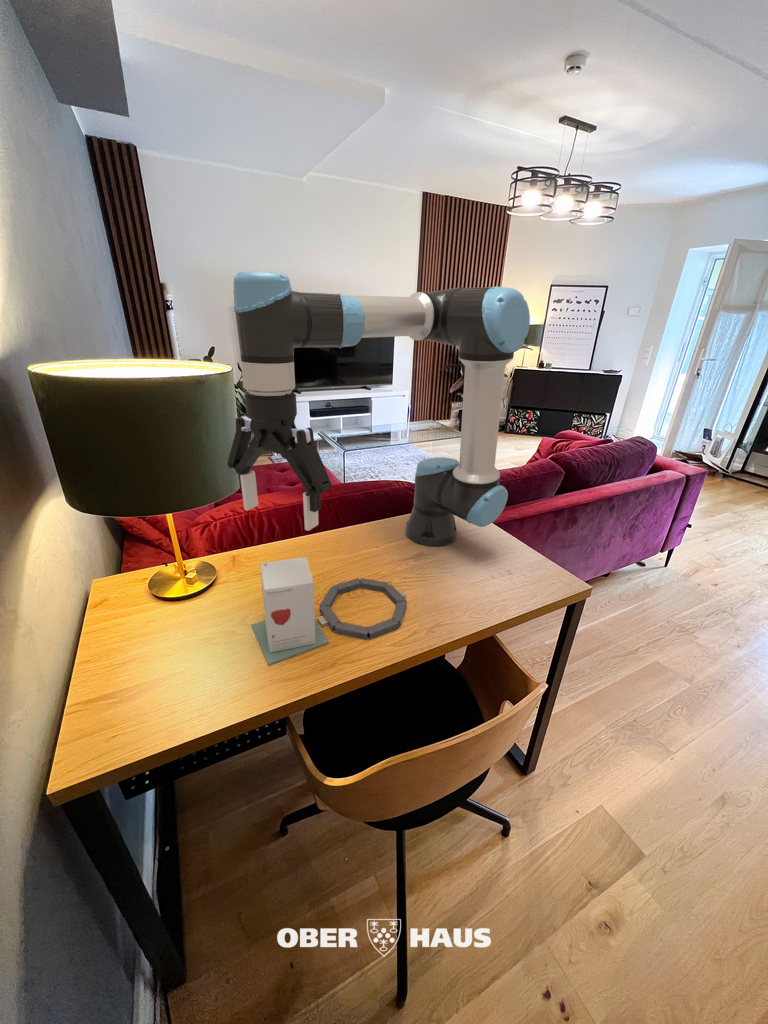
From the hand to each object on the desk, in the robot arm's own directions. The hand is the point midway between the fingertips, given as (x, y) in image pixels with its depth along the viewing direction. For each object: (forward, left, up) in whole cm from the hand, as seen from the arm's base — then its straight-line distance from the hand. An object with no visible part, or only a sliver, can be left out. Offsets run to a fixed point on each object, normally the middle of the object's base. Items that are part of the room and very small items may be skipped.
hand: (280, 517), depth 71 cm
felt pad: (0, 0, -26) cm, 27 cm away
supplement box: (0, 0, -26) cm, 26 cm away
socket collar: (-17, 0, -26) cm, 32 cm away
